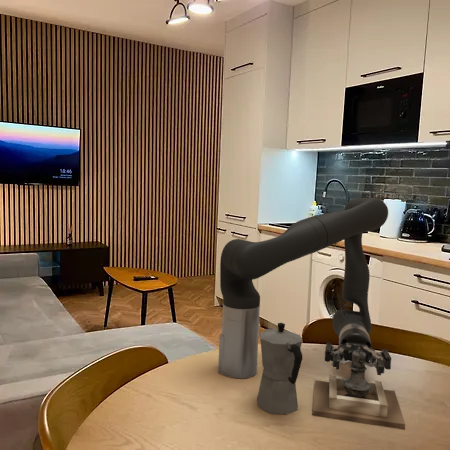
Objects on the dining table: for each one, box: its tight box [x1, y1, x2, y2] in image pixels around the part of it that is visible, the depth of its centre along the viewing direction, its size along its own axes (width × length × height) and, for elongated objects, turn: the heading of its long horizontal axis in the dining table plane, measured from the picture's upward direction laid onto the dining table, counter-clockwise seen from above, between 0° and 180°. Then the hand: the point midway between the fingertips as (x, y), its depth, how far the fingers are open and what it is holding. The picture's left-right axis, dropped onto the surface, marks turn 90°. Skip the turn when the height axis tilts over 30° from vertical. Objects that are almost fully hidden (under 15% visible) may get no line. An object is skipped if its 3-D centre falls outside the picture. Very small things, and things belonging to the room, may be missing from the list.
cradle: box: [312, 374, 406, 430], centre depth 97 cm, size 18×15×4 cm
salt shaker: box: [343, 346, 371, 399], centre depth 97 cm, size 6×6×12 cm
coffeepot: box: [256, 322, 303, 415], centre depth 95 cm, size 15×9×18 cm, turn 19°
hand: (358, 368), depth 95 cm, fingers open, 8 cm apart
